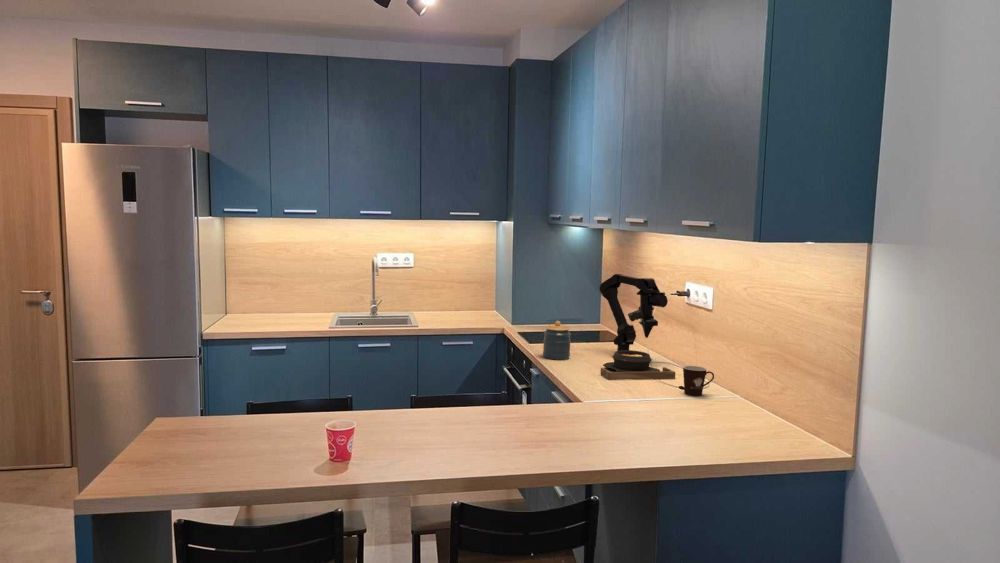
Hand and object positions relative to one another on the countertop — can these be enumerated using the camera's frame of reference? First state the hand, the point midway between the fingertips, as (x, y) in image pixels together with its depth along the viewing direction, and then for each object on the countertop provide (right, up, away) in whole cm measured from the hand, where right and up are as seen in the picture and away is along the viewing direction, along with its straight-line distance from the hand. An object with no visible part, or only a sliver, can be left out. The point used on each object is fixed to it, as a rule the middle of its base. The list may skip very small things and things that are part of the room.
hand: (646, 337), depth 304 cm
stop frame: (-11, -14, -32) cm, 36 cm away
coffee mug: (+6, -17, -58) cm, 60 cm away
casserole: (-12, -13, -23) cm, 29 cm away
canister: (-42, -10, +3) cm, 44 cm away
